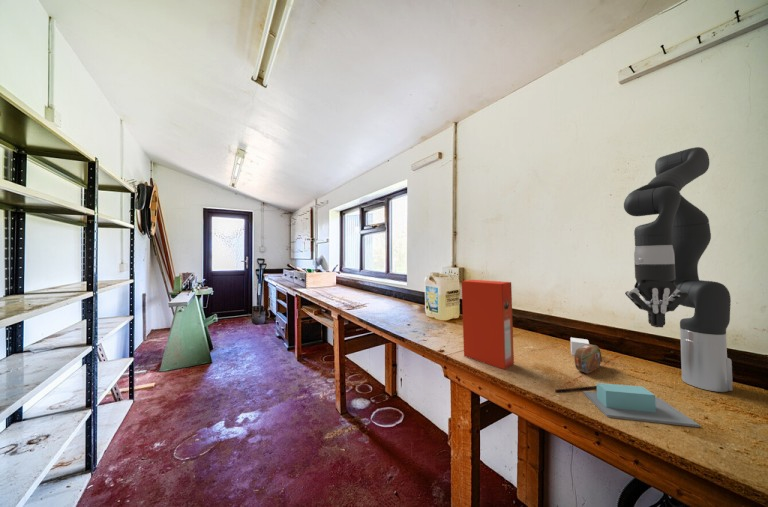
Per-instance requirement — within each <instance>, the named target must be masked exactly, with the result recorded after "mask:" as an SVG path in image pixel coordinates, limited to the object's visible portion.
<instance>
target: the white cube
mask: <svg viewBox="0 0 768 507" xmlns="http://www.w3.org/2000/svg"><path fill="white" fill-rule="evenodd" d="M587 344H590V342H589V340H588V339H586V338H585V339H584V338H577V337H570V354H572V355H571V356H573V357H574V356H575V352H576V350H577V349H578V348H580V347H583V346H585V345H587Z"/></svg>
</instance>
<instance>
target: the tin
mask: <svg viewBox="0 0 768 507" xmlns="http://www.w3.org/2000/svg"><path fill="white" fill-rule="evenodd" d="M573 357H574V365H575V369H576V370H577V371H578V372H581V373H585V374H590V373H592V372H593V371H596V370H597V369H599V367H600V365H601V361H602V352H601V350H600V347H599V346H598V345H596V344H590V343H589V344H587V345H585V346H583V347H580V348H578V349H577V350H576V352H575V356H573Z"/></svg>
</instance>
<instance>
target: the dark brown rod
mask: <svg viewBox="0 0 768 507" xmlns="http://www.w3.org/2000/svg"><path fill="white" fill-rule="evenodd" d="M589 390H597V385H592V386H590V385H589V386H581V387H580V386H579V387H568V388H561V389H560V388H558V389H554V391H555V393H556V394H557V393H558V394H559V393H567V392H578V391H589Z"/></svg>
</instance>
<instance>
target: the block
mask: <svg viewBox="0 0 768 507" xmlns="http://www.w3.org/2000/svg"><path fill="white" fill-rule="evenodd" d="M596 386H597V389H596V392H597V399H598V400H599V401H600V402H601V403H602V404H603V405H604V406H605V407H608V408H618V409H627V410H637V411H647V412H656V404H655V398H656V395H655V394H654V393H653V392H652V391H650V390H648V389H646V388H645V387H644V386H638V385H630V384H629V385H625V384H615V383H602V382H596Z"/></svg>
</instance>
